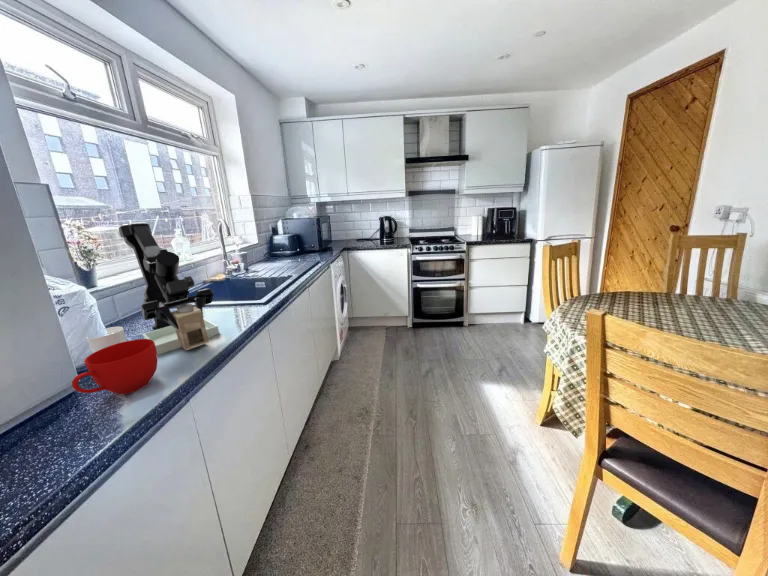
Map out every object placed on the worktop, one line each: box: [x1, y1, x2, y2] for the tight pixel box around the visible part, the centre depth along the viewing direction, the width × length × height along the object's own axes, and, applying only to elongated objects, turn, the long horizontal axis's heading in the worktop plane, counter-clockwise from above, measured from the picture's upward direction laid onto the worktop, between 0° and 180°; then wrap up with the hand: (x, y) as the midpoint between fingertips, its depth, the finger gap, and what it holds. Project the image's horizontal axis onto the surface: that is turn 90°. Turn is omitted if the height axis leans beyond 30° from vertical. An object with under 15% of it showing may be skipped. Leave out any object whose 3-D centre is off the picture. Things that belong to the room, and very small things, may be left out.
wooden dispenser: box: [171, 303, 210, 351], centre depth 92 cm, size 6×6×12 cm
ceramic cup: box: [71, 338, 158, 396], centre depth 71 cm, size 13×17×10 cm
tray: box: [142, 317, 220, 356], centre depth 102 cm, size 16×18×3 cm
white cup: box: [85, 326, 127, 354], centre depth 86 cm, size 8×8×10 cm
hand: (190, 324), depth 91 cm, fingers closed on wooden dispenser, 6 cm apart
